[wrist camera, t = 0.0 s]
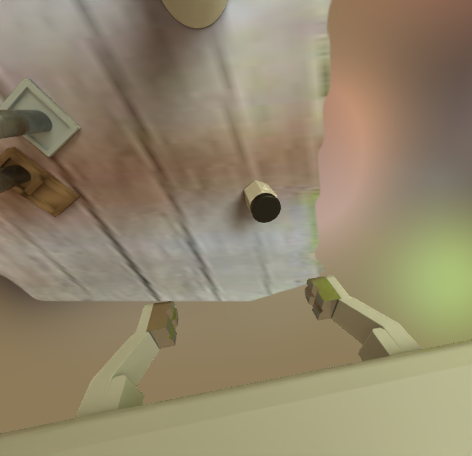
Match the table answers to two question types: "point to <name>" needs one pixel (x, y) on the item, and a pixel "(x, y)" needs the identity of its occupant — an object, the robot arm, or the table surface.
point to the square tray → (36, 99)
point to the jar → (262, 202)
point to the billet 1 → (23, 122)
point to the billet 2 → (13, 177)
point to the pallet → (39, 184)
